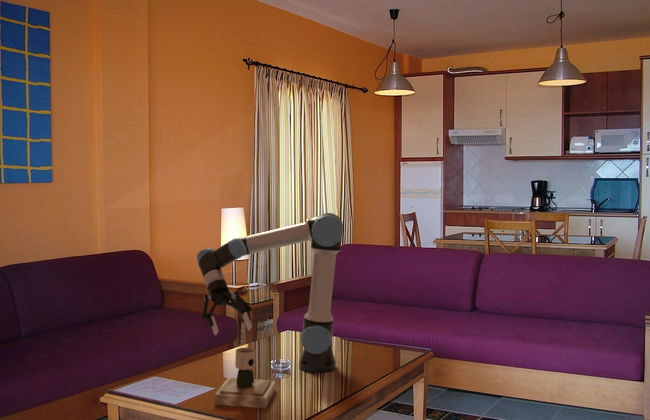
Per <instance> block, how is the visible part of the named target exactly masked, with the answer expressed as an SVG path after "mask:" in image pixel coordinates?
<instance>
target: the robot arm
mask: <svg viewBox="0 0 650 420" xmlns="http://www.w3.org/2000/svg"><path fill="white" fill-rule="evenodd" d="M343 234H344V225H343V220H341V218H340V217H339V216H338V215H337V214H334V213H331V212H326V213H325V212H324V213H323V214H320V215H318V216H315V217H311V218H307V219H306V221H305V222H302V223H298V224H294V225H288V226H285V227H281V228H276V229H272V230H269V231H264V232H260V233H254V234H250V235H247V236H242V237H235V238H232V239H231V240H229V241H227V243H225V244H223V245H221V246H220V247H218V248H216V249H213V248H210V247H209V248H204V249H203V248H202V249H201V250H200V251H199V252H197V255H196V260H197V263H198V267H199V270H200V272H201V275H202V278H203V280H204V283H205V286H206V288H207V291H208V294H207V293H206V294H204V295H203V298H202V301H203V304H202V305H203V306H202V310H201V316H200V319H201V320H205V321H206V322H207V324H208V327H210V328H211V329H212V332H213V334H214V336H217V335H218V333H219V331H220V330H219V328H218V325H217V323H216V319H215V316H214V315H213V313H214V311H215V309H216V307H217V306H218V307H222V306H229V307H231V308H233V309H235V310H236V311H238V312H239V313H241V314H242V319H243V321H244V325H245V326H246V329H247V331H251V330H252V327H253V325H252V322H251V320H252V318H251V315H250V313H251V312H252V311H253V308H252V306H251V305H249V304H248V303H247V301H245V300H244V299H243V297H242V296H241V295H240V294H239V292H238V290H236V291H234V292H232V293H231V292H230V290H229V287H228V284H227V281H226V278H225V276H224V274H223V271H222V268H224V267H226V266H227V265H230V264H231V263H233V262H235V261H237V260H238V259H241V258H243V257H244V256H248V255H252V254H256V253H260V252H261V253H262V252H265V251H270V250H274V249H278V248H282V247H286V246H292V245H296V244H300V243H305V242H308V241H309V242H311V244H310V248H311V250H312V251H313V253H314V254H313V263H312V272H311V281H310V282H311V283H310V291H309V292H310V293H309V301H308V311H307V312H305V314H304V315H303V322H302V323H303V324H302V332H301V335H300V342H301V346H302V347H303V350H302V354H301V357H300V358H299V365H298V366H299V368H300V370H302V371H304V372H307V373H308V372H309V373H310V372H311V373H328V372H332V371H334V370H336V368H337V361H336V357H335V355H334V352H333V330H334V329H333V326H334V315H333V313H331V308H332V299H333V290H334V288H333V287H334V280H335V270H336V262H337V261H336V260H337V254H338V253H339V252H341V249H342V240H343V239H342V238H343ZM210 301H211V302H213V304H212V306H211V307H210V308H211V309H210V310H209V312H208V313H207V310H208V306H209V302H210Z"/></svg>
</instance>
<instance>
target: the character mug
mask: <svg viewBox="0 0 650 420" xmlns="http://www.w3.org/2000/svg"><path fill="white" fill-rule="evenodd" d="M256 356H257V350H256V348H254V347H239V348H236V349H235V368H236V369H237V375H236V378H237V383H236V385H238V386H243V387H251V386H253V384H254V379H255V378H254V371H253V370H254V369H256V358H257V357H256Z"/></svg>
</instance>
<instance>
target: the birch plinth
mask: <svg viewBox="0 0 650 420" xmlns="http://www.w3.org/2000/svg"><path fill="white" fill-rule="evenodd" d="M253 379H254V384H253V386H251V387H243V386H238V385H236V383H237V377H229V378H227V379H225V381H224V382H223V384H221V386H220V387H219V389H217V391H216V392H215V394H214V405H215V406H227V407H228V406H229V407H241V408H242V407H243V408H246V407H247V408H260V409H266V408H267V407H268V405H269V403H270V402H271V400H272V397H273V396H274V394H275V392H276V381H275V380H271V379H260V378H259V379H257V378H256V379H255V378H253Z"/></svg>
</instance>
